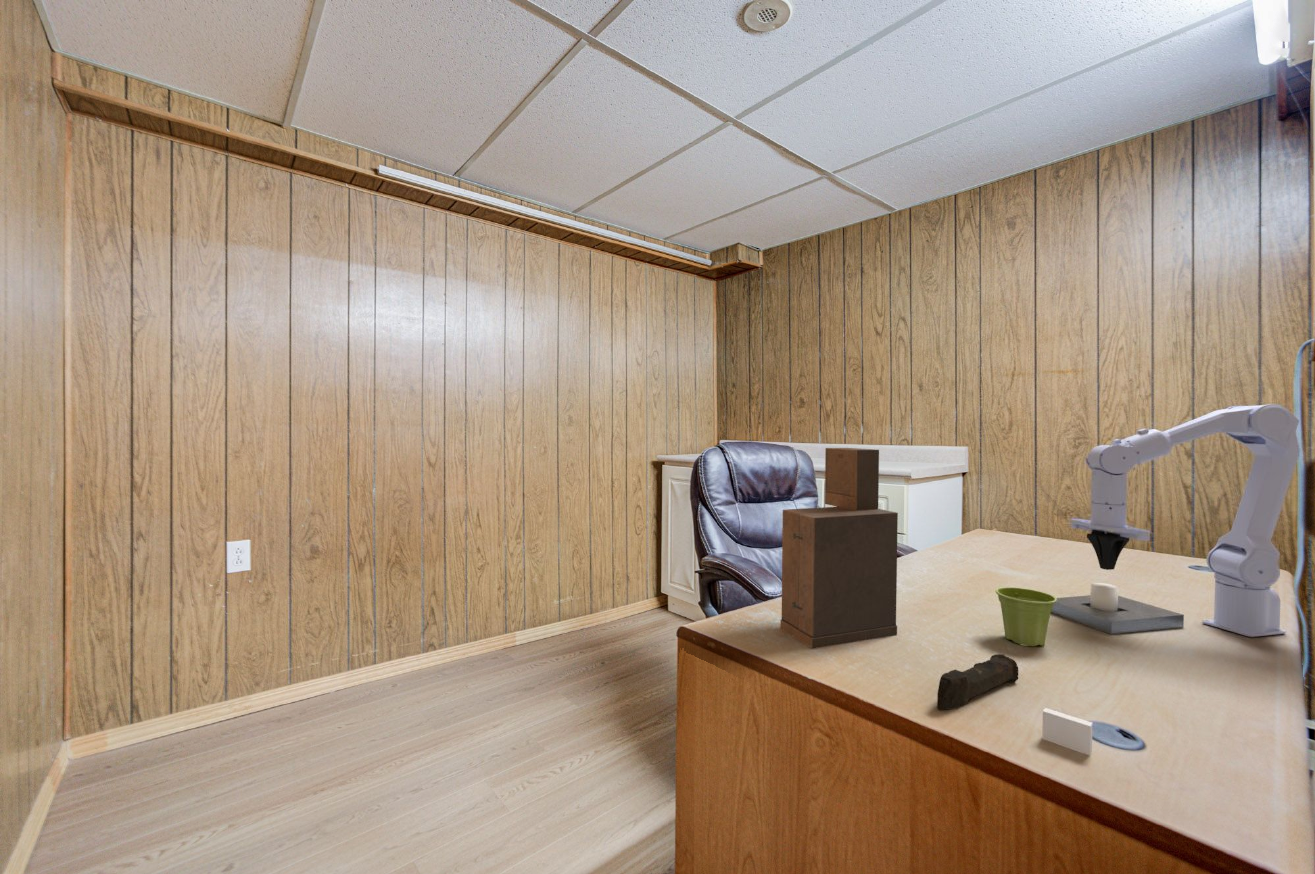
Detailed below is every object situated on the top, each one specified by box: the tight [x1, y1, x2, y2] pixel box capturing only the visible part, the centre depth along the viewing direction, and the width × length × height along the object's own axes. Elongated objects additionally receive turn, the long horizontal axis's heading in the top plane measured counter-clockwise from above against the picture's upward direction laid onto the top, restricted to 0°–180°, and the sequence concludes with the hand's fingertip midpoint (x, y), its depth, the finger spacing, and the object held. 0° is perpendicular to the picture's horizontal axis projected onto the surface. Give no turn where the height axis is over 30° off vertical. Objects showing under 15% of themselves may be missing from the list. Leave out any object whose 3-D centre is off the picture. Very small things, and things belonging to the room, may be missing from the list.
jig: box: [1050, 594, 1185, 635], centre depth 114 cm, size 18×14×2 cm
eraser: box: [1041, 707, 1094, 756], centre depth 68 cm, size 1×5×4 cm, turn 43°
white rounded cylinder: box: [1089, 582, 1119, 613], centre depth 114 cm, size 4×4×7 cm
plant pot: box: [995, 586, 1058, 647], centre depth 102 cm, size 9×9×9 cm
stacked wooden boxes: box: [779, 447, 899, 649], centre depth 107 cm, size 19×14×35 cm
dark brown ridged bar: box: [936, 653, 1019, 711], centre depth 82 cm, size 19×4×5 cm, turn 120°
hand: (1107, 568), depth 114 cm, fingers closed
